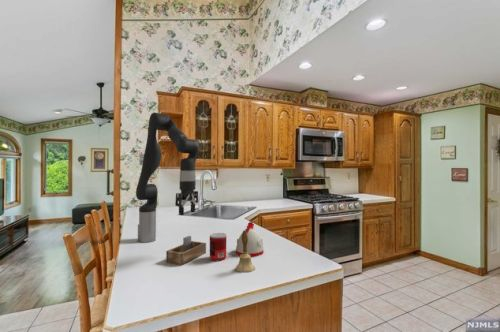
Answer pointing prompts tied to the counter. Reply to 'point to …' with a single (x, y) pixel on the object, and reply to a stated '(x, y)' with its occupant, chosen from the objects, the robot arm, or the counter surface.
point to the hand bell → (245, 257)
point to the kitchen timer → (250, 242)
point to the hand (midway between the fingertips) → (187, 213)
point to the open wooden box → (185, 253)
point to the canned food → (217, 246)
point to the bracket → (186, 243)
